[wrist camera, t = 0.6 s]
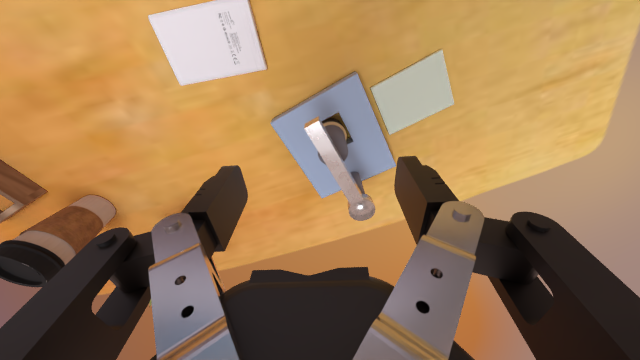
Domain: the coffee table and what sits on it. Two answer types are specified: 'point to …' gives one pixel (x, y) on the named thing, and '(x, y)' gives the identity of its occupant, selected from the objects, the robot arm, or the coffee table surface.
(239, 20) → the external hard drive
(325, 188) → the plate
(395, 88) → the pad
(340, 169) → the clip
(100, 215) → the coffee cup
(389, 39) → the coffee table surface
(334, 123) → the plug
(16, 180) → the coaster tray
